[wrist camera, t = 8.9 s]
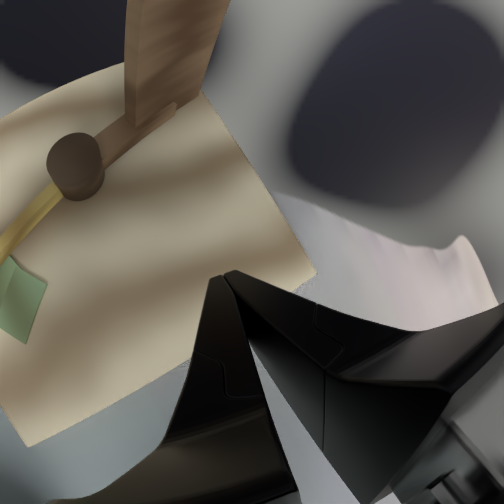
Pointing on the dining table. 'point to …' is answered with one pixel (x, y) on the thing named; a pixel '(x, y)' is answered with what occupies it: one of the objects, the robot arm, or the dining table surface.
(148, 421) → the dining table surface
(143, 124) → the brown piece
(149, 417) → the dining table surface
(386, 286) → the dining table surface
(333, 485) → the dining table surface
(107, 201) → the dial board
